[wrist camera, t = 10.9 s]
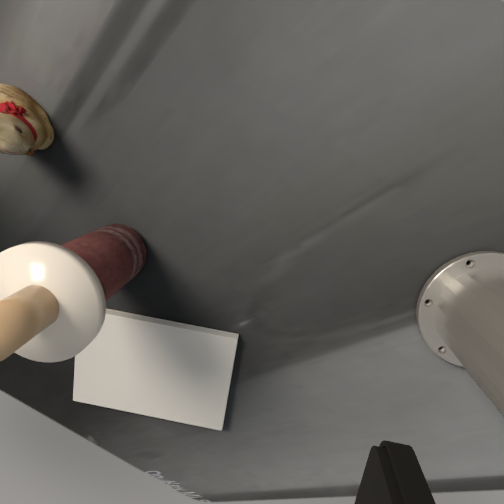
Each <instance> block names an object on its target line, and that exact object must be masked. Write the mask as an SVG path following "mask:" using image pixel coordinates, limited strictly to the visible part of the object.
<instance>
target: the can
mask: <svg viewBox="0 0 504 504" xmlns="http://www.w3.org/2000/svg"><path fill="white" fill-rule="evenodd" d="M61 246H63V247H65V248H67V249H69V250H71V251H73V252H74V253H76V254H77V255H79V256H80V257H81V258H82V259H83V260H84V261H86V263H87V264H88V265H89V266H90V267H91V268H92V269H93V271H94V272H95V274H96V275H97V277H98V279H99V281H100V283H101V285H102V288H103V291H104V295H105V300H106V301H107V300H108V299H109V298H110V297H111V296H112V295H114V294H115V293H116V292H117V291H118V290H120V289H121V288H122V287H123V286H124V285H125V284H127V283H128V282H129V281H130V280H131V279H132V278H134V277H135V276H136V275H137V274H138V273H139V272H140V271H141V270H142V269H143V267H144V265H145V262H146V254H147V251H146V247H145V244H144V242H143V240H142V239H141V237H140V235H139V234H138V233H136V232H135V231H134V230H133V229H131V228H129V227H127V226H125V225H120V224H112V225H107V226H104V227H102V228H100V229H97V230H95V231H93V232H91V233H88V234H86V235H84V236H81V237H79V238H77V239H75V240H72V241H70V242H68V243H65V244H63V245H61Z"/></svg>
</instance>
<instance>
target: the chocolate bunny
mask: <svg viewBox="0 0 504 504" xmlns="http://www.w3.org/2000/svg"><path fill="white" fill-rule="evenodd" d="M54 139H55V138H54V129H53V127H52V126H51V124H50V121H49V118H48V116H47V114H46V112H45V111H44V109H43V108H42V107H41V106H40V105H39V104H38V103H36V101H35V100H34V99H32V98H31V97H30V96H29V95H28V94H27V93H25V92H24V91H22V90H21V89H19V88H17V87H15V86H11V85H6V84H0V153H2V154H9V155H25V154H27V155H28V156H32V155H34V152H33V151H35V150H36V149H40V150H44V149H47V147H49V146H50V145H51V144H52V142H53V140H54Z"/></svg>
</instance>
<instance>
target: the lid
mask: <svg viewBox="0 0 504 504" xmlns="http://www.w3.org/2000/svg"><path fill="white" fill-rule="evenodd" d="M105 314H106V300H105V295H104V291H103V288H102V285H101V283H100V281H99V279H98V277H97V275H96V274H95V272H94V271H93V269H92V268H91V267H90V266H89V265H88V264H87V263H86V261H84V260H83V259H82V258H81V257H80V256H79V255H77V254H76V253H74V252H73V251H71V250H69V249H67V248H65V247H63V246H60V245H58V244H54V243H50V242H43V241H33V242H27V243H23V244H20V245H17V246H14V247H11V248H9V249H6V250H4V251H2V252H0V361H2V360H4V359H6V358H7V357H8V356H10V355H11V354H12V353H16V354H18V355H20V356H22V357H25V358H27V359H30V360H34V361H39V362H59V361H63V360H67V359H69V358H72V357H74V356H76V355H77V354H79V353H80V352H81V351H83V350H84V349H85V348H86V347H87V346H88V345H89V344H90V343H91V342H92V341H93V340H94V339H95V338H96V336H97V335H98V333H99V332H100V330H101V328H102V326H103V323H104V320H105Z"/></svg>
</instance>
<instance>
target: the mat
mask: <svg viewBox="0 0 504 504" xmlns="http://www.w3.org/2000/svg"><path fill="white" fill-rule="evenodd" d="M238 336H239V334H236V333H231V332H226V331H221V330H215V329H210V328H205V327H200V326H195V325H189V324H184V323H179V322H174V321H169V320H164V319H158V318H153V317H148V316H143V315H138V314H132V313H127V312H122V311H117V310H112V309H107V308H106V314H105V320H104V323H103V326H102V328H101V330H100V332H99V333H98V335H97V336H96V338H95V339H94V340H93V341H92V342H91V343H90V344H89V345H88V346H87V347H86V348H85V349H84V350H83V351H81V352H80V353H79V354H77V355H76V356H75V370H74V390H73V401H78V402H83V403H88V404H93V405H98V406H103V407H107V408H112V409H117V410H122V411H127V412H132V413H137V414H142V415H147V416H152V417H157V418H161V419H166V420H171V421H176V422H181V423H186V424H191V425H196V426H201V427H206V428H211V429H215V430H220V431H222V427H223V423H224V417H225V411H226V406H227V400H228V394H229V388H230V382H231V377H232V371H233V365H234V359H235V353H236V348H237V342H238Z"/></svg>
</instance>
